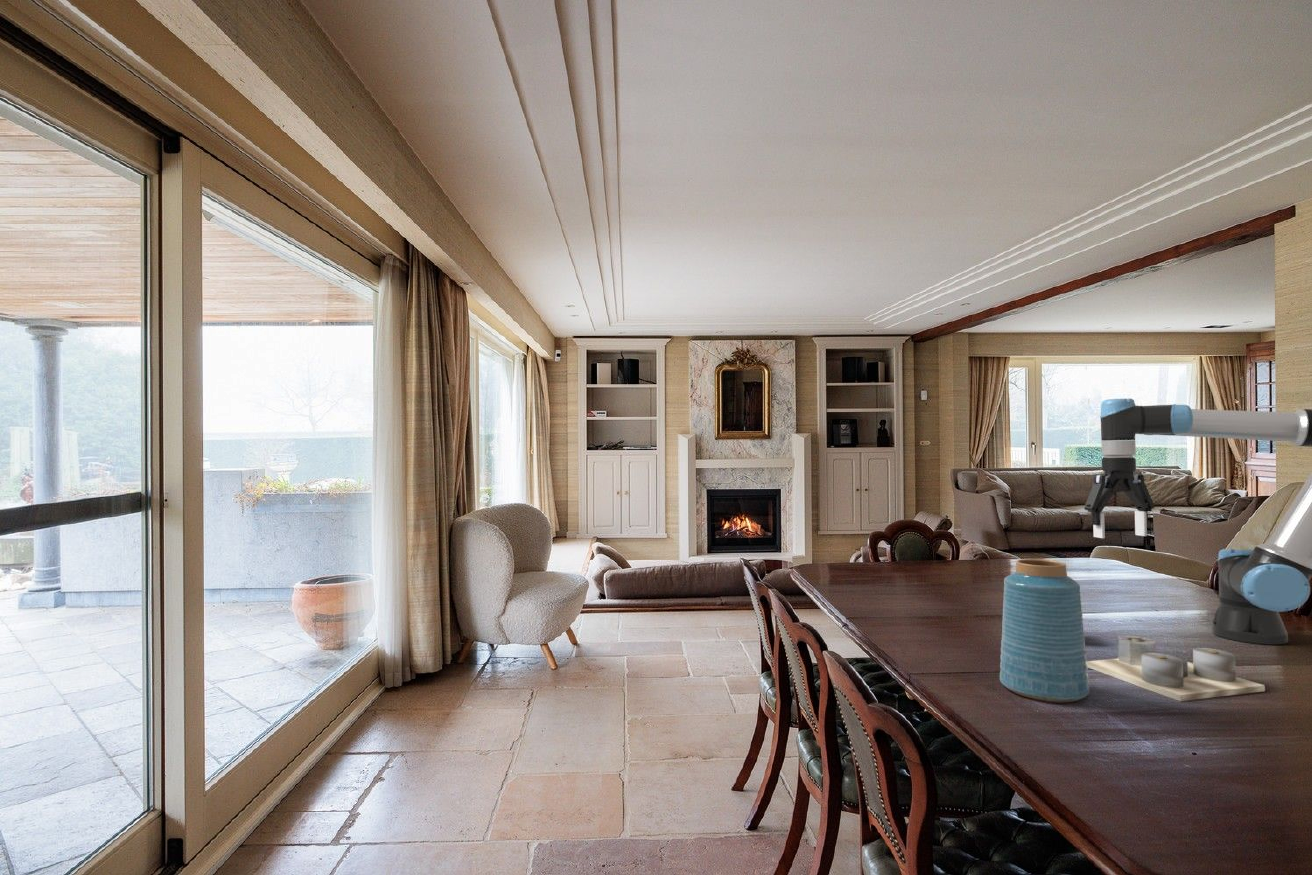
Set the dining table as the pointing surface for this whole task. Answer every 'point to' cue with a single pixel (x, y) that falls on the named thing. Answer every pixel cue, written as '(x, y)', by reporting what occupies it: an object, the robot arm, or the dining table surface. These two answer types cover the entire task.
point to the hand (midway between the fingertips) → (1120, 536)
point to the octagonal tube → (1134, 649)
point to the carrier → (1182, 674)
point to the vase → (1043, 633)
